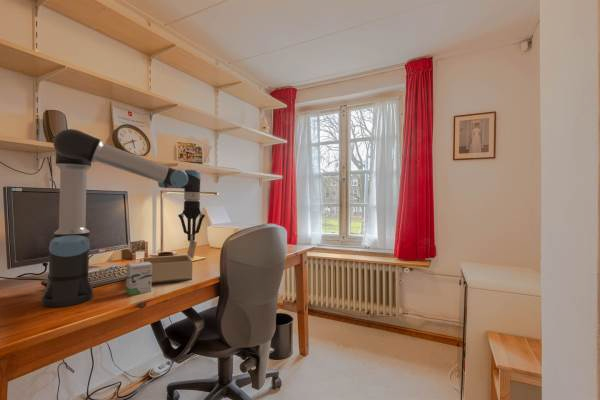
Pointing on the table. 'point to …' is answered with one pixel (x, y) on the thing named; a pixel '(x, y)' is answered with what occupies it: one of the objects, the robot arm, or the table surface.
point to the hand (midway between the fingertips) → (191, 247)
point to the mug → (165, 254)
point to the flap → (192, 249)
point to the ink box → (138, 278)
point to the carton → (170, 268)
